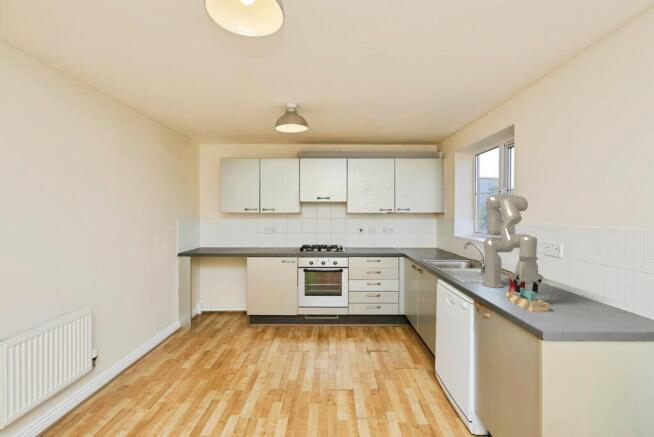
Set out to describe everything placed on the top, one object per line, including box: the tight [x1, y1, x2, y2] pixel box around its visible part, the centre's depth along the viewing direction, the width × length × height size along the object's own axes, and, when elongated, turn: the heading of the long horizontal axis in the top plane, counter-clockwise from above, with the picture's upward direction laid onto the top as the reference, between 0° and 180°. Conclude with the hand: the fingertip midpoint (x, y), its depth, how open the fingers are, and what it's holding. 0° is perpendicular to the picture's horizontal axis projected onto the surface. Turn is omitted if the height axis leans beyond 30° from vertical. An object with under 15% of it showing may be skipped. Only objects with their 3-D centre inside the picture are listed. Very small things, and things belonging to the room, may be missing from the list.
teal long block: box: [517, 288, 537, 301], centre depth 165 cm, size 10×3×7 cm, turn 4°
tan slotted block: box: [505, 292, 550, 313], centre depth 165 cm, size 20×9×4 cm, turn 4°
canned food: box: [508, 274, 526, 293], centre depth 185 cm, size 8×8×11 cm
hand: (526, 291), depth 165 cm, fingers open, 9 cm apart
